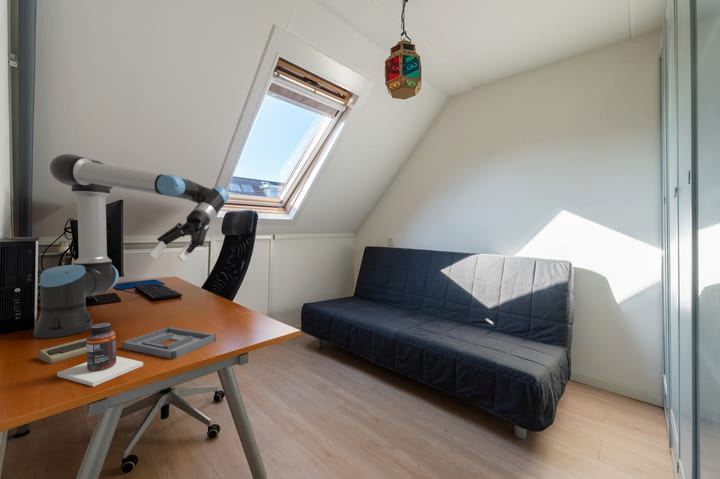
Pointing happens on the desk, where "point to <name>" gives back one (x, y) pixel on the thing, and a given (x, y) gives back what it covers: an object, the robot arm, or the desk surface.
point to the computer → (63, 351)
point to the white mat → (99, 372)
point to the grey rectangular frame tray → (183, 344)
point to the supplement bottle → (101, 347)
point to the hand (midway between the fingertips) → (165, 258)
